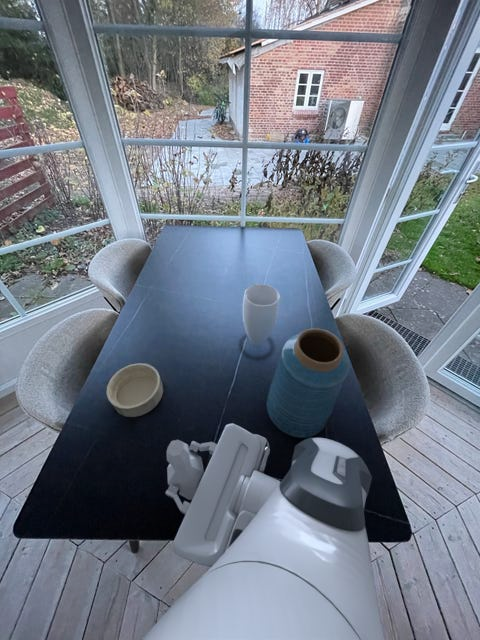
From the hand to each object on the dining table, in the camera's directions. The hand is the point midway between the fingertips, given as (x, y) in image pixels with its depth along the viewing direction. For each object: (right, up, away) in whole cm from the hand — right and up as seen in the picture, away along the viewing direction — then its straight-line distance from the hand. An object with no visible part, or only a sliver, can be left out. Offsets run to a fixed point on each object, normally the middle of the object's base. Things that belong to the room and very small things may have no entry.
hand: (179, 466), depth 46 cm
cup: (+16, +17, +40) cm, 46 cm away
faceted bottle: (+1, -9, +8) cm, 12 cm away
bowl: (-17, +5, +27) cm, 32 cm away
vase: (+26, +2, +25) cm, 36 cm away
